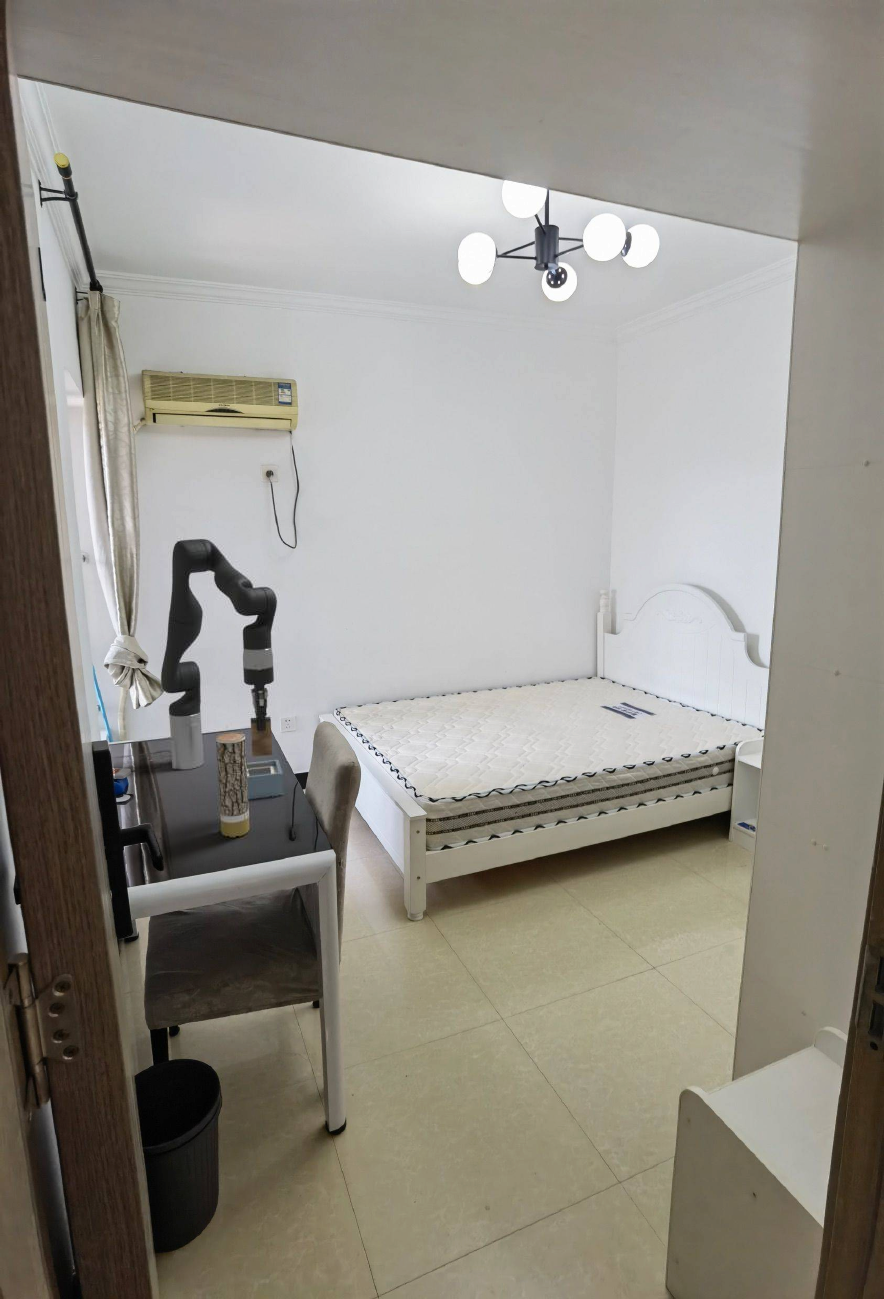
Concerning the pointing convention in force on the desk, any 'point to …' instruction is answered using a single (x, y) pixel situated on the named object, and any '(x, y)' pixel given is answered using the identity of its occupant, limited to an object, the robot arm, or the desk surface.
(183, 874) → the desk surface
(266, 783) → the blue open box
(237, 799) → the bark log cylinder
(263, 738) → the wooden plank
